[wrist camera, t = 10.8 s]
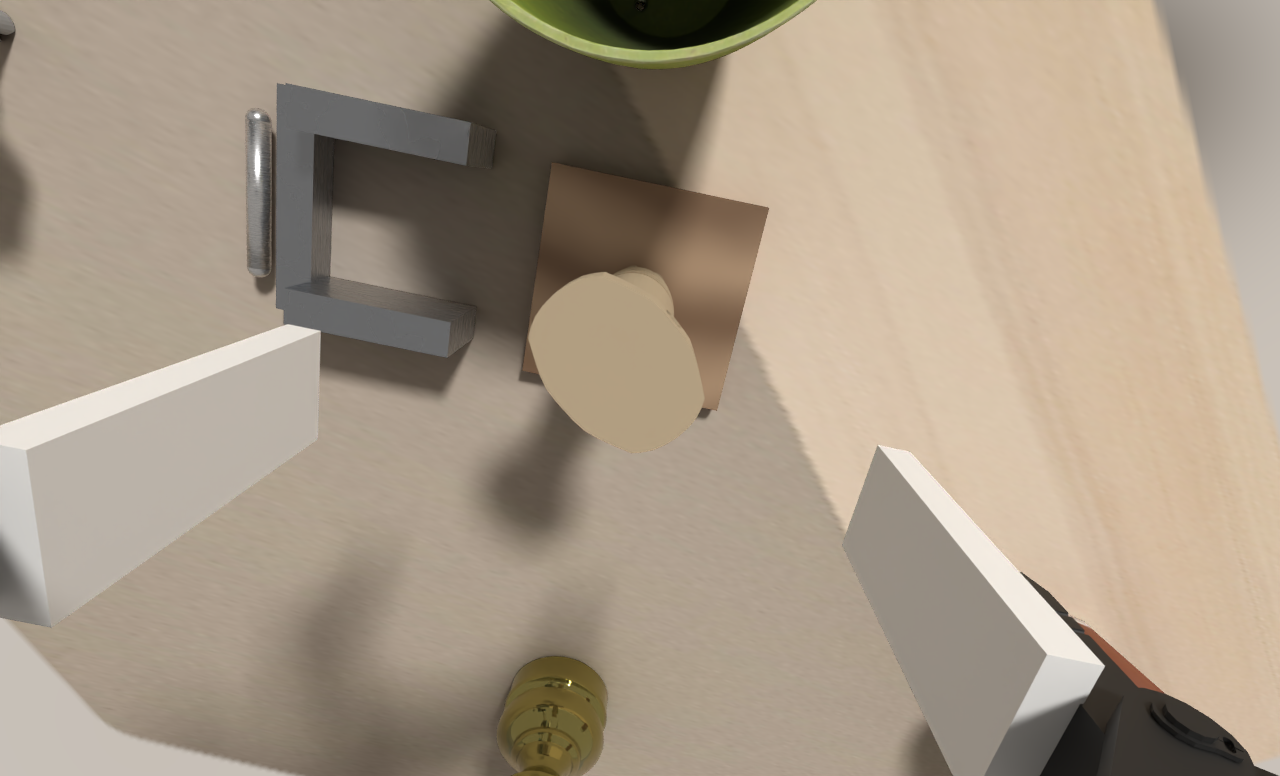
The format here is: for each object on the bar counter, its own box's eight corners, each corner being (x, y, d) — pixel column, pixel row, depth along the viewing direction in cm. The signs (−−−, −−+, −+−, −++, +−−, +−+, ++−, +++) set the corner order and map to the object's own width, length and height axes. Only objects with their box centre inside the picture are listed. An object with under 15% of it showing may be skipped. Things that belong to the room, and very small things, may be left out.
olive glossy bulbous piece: (515, 645, 44) (472, 770, 35) (615, 661, 44) (599, 789, 35) (507, 721, 47) (466, 858, 37) (602, 736, 47) (585, 876, 37)
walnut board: (555, 162, 34) (551, 161, 32) (765, 207, 34) (769, 207, 33) (526, 365, 37) (522, 370, 36) (715, 403, 38) (716, 410, 36)
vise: (261, 81, 33) (200, 65, 29) (496, 131, 33) (470, 122, 29) (262, 295, 37) (208, 308, 32) (473, 338, 37) (447, 357, 33)
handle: (642, 360, 36) (624, 476, 21) (570, 276, 34) (500, 340, 20) (707, 309, 34) (733, 396, 20) (635, 220, 33) (609, 246, 19)
